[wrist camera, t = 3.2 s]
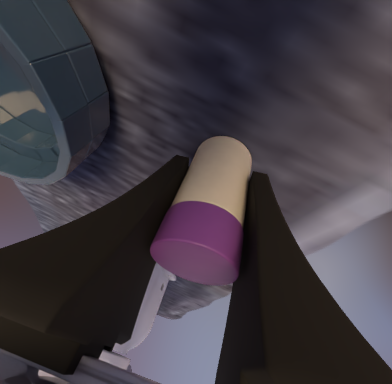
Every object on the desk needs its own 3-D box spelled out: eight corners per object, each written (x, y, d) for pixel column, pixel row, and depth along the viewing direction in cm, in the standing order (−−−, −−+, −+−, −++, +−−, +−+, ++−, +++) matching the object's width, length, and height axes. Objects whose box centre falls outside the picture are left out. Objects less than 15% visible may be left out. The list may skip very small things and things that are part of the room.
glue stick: (252, 182, 11) (241, 292, 7) (200, 181, 12) (165, 276, 8) (252, 132, 9) (236, 248, 5) (189, 135, 10) (134, 234, 6)
